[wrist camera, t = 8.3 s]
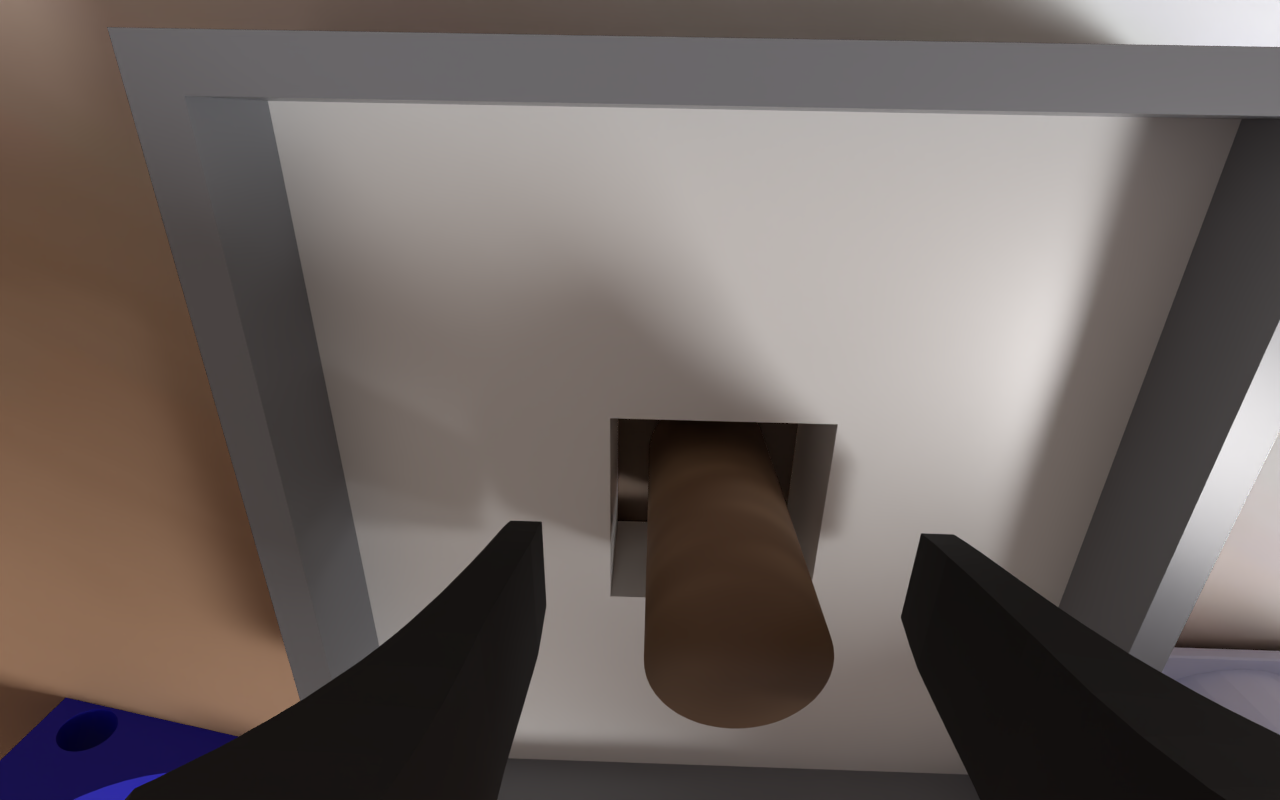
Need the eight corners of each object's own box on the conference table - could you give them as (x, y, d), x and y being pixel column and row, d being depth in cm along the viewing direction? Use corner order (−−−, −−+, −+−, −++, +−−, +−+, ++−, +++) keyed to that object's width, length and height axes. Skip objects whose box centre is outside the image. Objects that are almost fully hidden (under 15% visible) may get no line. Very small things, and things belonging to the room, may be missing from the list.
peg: (769, 400, 16) (847, 590, 9) (758, 501, 17) (820, 731, 10) (650, 396, 16) (646, 584, 9) (648, 497, 17) (641, 725, 10)
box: (1170, 77, 12) (1466, 50, 8) (967, 702, 20) (1061, 877, 15) (304, 61, 13) (107, 27, 8) (414, 683, 20) (343, 850, 15)
